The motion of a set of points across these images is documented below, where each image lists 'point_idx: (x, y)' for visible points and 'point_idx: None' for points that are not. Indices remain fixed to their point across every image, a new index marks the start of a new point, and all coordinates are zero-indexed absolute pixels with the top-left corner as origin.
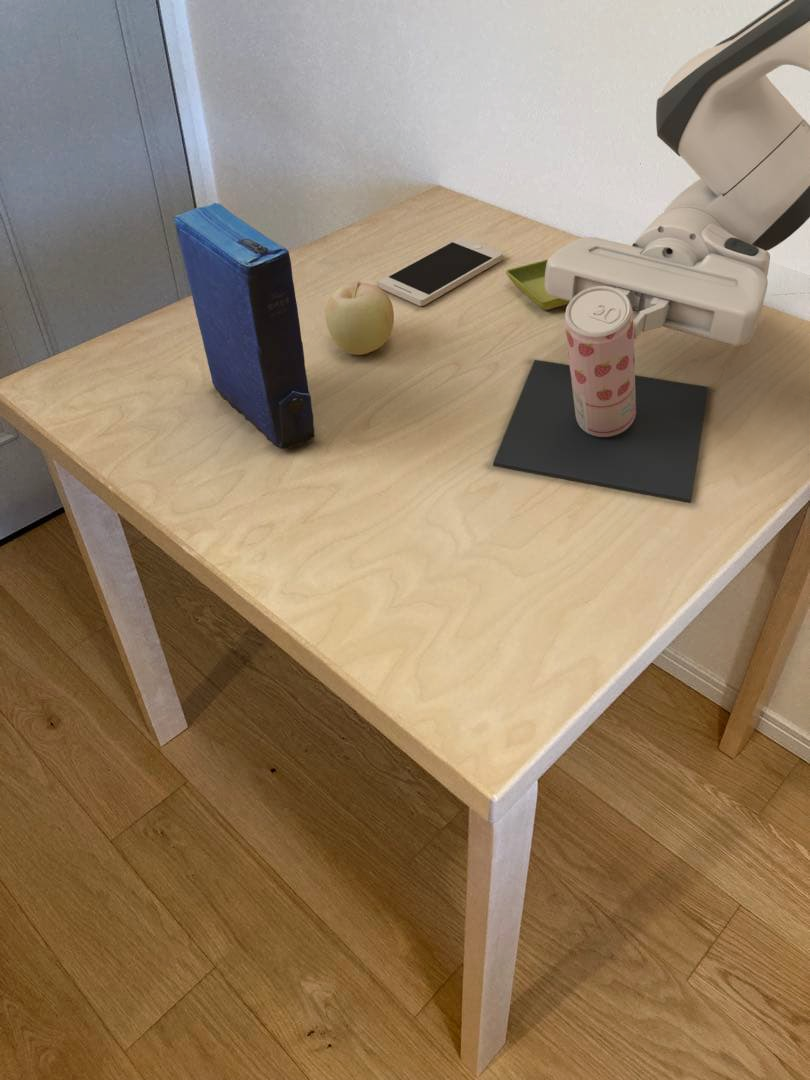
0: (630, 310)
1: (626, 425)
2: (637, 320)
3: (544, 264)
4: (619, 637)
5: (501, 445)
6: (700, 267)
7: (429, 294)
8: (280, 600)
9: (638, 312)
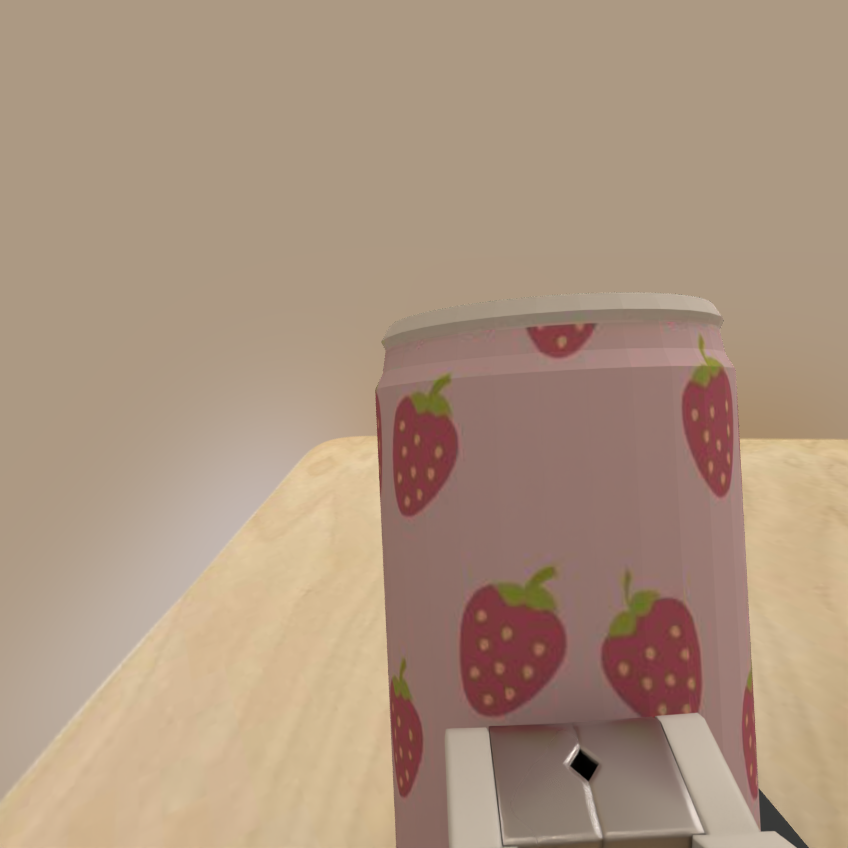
0: (390, 333)
1: None
2: (461, 733)
3: None
4: (237, 572)
5: (790, 831)
6: None
7: None
8: None
9: (515, 840)
